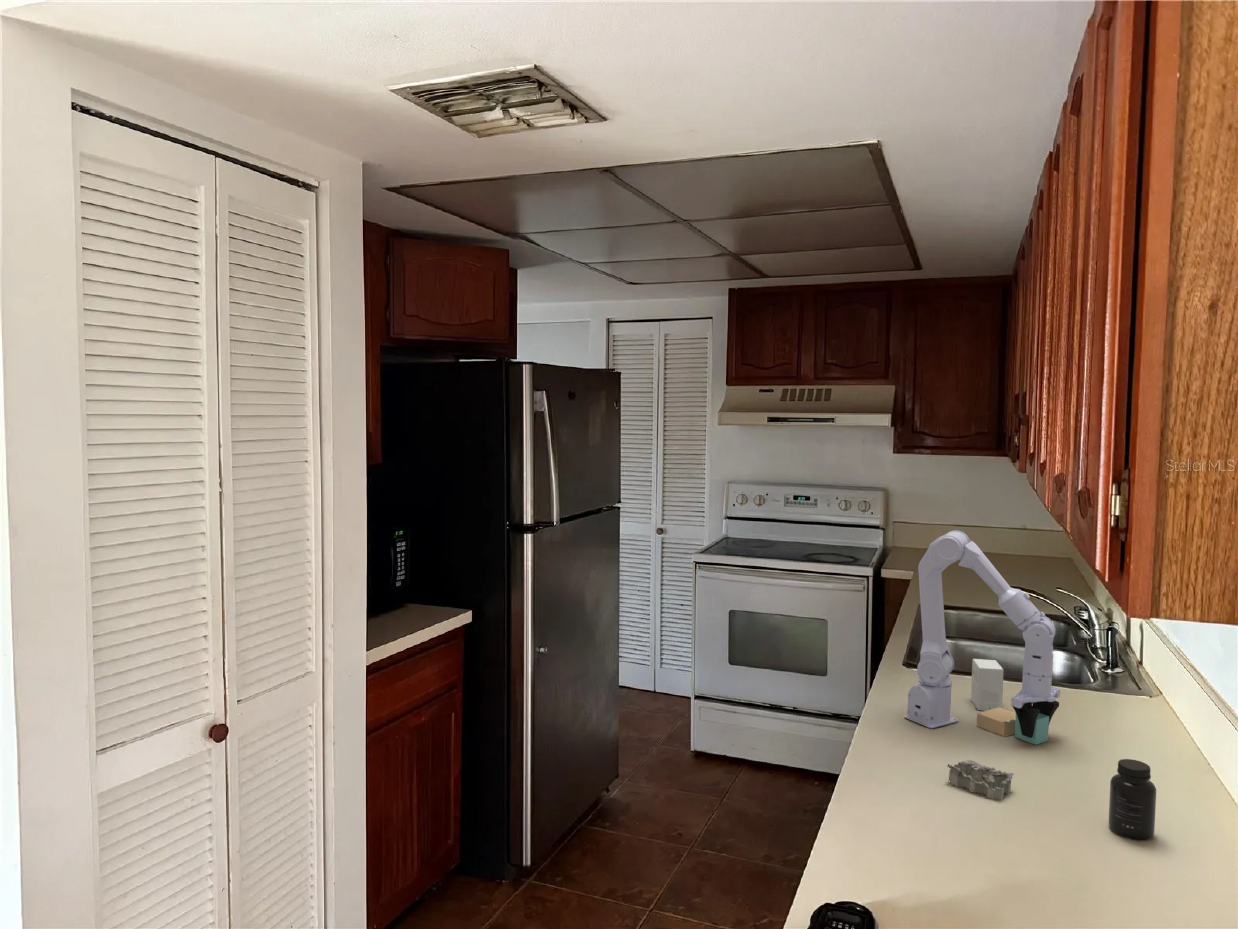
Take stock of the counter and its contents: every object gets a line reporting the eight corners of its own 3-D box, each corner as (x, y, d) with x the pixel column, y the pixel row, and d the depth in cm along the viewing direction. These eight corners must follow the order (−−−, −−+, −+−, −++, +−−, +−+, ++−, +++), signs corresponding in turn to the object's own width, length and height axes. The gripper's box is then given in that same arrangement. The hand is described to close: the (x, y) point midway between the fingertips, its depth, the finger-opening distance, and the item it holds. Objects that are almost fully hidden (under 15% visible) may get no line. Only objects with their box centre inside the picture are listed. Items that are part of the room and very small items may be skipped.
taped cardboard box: (1004, 736, 189) (1004, 722, 189) (976, 726, 195) (977, 712, 195) (1026, 730, 193) (1027, 716, 193) (998, 720, 199) (999, 706, 199)
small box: (1002, 712, 204) (1004, 669, 203) (977, 710, 205) (979, 667, 204) (994, 701, 212) (996, 659, 211) (970, 699, 213) (972, 658, 212)
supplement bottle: (1111, 818, 152) (1115, 752, 151) (1156, 830, 148) (1161, 763, 147) (1104, 832, 147) (1108, 765, 146) (1150, 846, 143) (1155, 776, 142)
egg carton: (943, 784, 166) (944, 763, 165) (962, 773, 171) (963, 753, 170) (997, 804, 158) (998, 782, 157) (1016, 792, 163) (1017, 771, 162)
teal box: (1035, 744, 185) (1036, 719, 184) (1014, 736, 189) (1015, 712, 188) (1047, 741, 187) (1049, 715, 186) (1026, 733, 191) (1028, 708, 191)
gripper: (1033, 683, 179) (1030, 746, 180) (1074, 673, 186) (1071, 734, 187) (1003, 674, 185) (1000, 735, 186) (1044, 664, 192) (1041, 723, 193)
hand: (1034, 734), depth 187 cm, fingers closed on teal box, 4 cm apart
